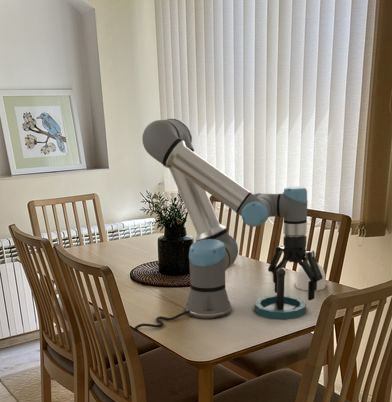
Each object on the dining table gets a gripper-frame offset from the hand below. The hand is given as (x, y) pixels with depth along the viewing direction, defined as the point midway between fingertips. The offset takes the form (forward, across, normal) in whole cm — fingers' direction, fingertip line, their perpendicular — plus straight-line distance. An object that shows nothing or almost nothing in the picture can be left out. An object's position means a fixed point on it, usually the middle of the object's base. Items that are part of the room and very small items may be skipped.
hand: (294, 295), depth 188 cm
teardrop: (+3, +6, -20) cm, 22 cm away
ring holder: (+3, 0, +8) cm, 8 cm away
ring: (+3, 0, +8) cm, 8 cm away
